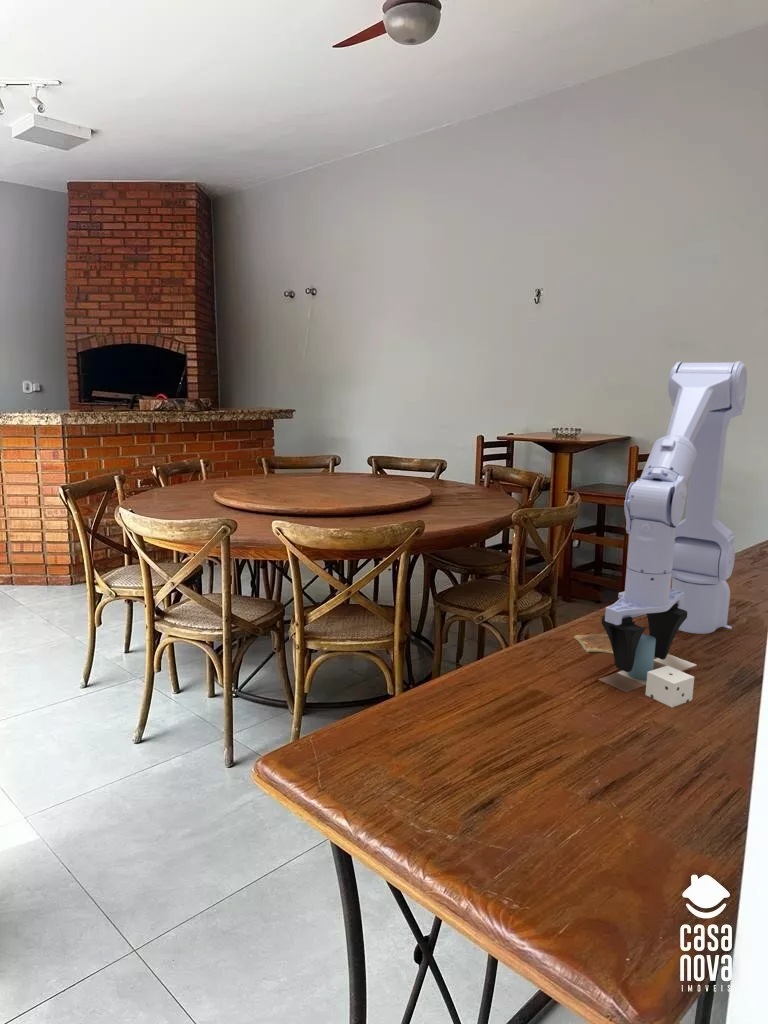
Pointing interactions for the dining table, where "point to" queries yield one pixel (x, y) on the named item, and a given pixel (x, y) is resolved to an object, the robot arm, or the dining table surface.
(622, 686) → the board
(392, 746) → the dining table surface
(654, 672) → the die
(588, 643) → the shard
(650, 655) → the blue capsule cylinder
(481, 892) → the dining table surface
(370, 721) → the dining table surface
